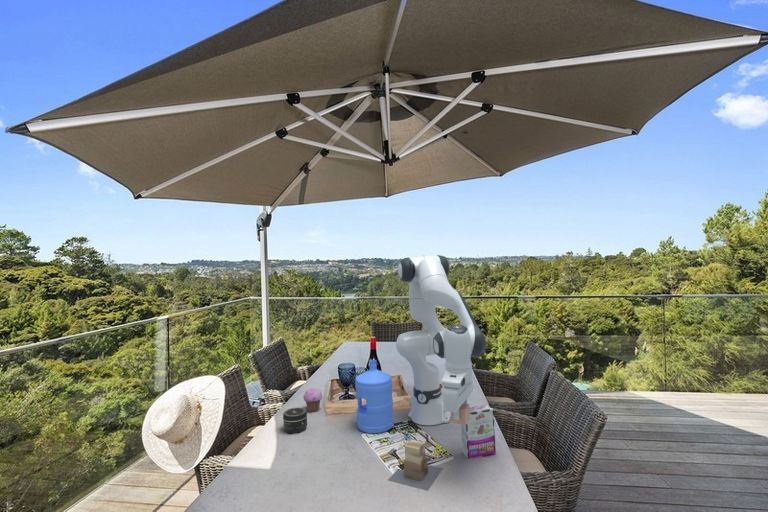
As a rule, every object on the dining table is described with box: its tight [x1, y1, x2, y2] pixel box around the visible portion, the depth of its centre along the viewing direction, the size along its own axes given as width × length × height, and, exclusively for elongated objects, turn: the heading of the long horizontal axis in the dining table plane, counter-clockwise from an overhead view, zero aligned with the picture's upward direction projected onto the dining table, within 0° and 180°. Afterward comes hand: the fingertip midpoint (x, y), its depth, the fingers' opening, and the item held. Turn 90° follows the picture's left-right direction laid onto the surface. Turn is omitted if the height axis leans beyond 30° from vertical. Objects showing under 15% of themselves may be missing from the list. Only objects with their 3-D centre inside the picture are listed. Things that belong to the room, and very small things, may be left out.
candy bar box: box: [460, 404, 497, 460], centre depth 149 cm, size 11×5×16 cm, turn 105°
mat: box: [387, 464, 444, 492], centre depth 137 cm, size 14×14×1 cm
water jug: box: [354, 359, 395, 434], centre depth 176 cm, size 16×16×28 cm
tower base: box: [402, 455, 429, 481], centre depth 137 cm, size 6×6×5 cm
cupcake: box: [303, 388, 323, 413], centre depth 197 cm, size 9×9×10 cm
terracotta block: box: [450, 403, 471, 425], centre depth 139 cm, size 5×5×5 cm
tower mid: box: [404, 439, 426, 464], centre depth 137 cm, size 5×5×5 cm
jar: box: [282, 407, 308, 434], centre depth 176 cm, size 10×10×8 cm
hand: (460, 415), depth 139 cm, fingers closed on terracotta block, 5 cm apart
